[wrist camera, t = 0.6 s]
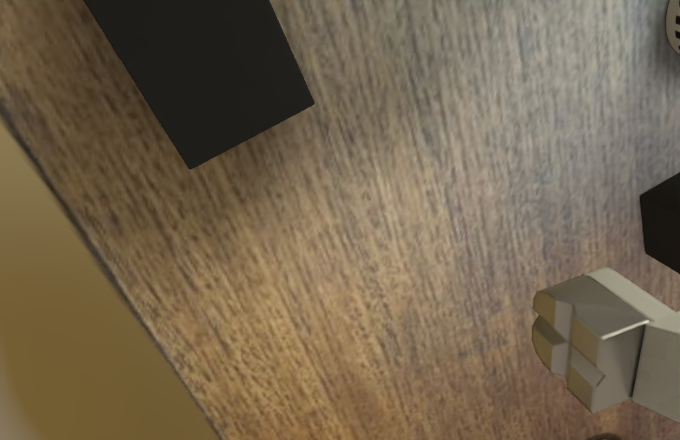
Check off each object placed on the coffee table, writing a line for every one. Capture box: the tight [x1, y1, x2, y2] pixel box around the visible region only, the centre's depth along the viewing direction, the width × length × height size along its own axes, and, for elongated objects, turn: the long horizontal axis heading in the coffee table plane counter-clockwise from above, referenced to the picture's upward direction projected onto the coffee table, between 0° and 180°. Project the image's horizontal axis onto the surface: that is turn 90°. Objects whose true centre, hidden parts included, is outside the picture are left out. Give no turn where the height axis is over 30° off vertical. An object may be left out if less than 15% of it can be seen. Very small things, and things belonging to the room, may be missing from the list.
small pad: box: [84, 0, 314, 169], centre depth 19 cm, size 8×5×3 cm, turn 23°
